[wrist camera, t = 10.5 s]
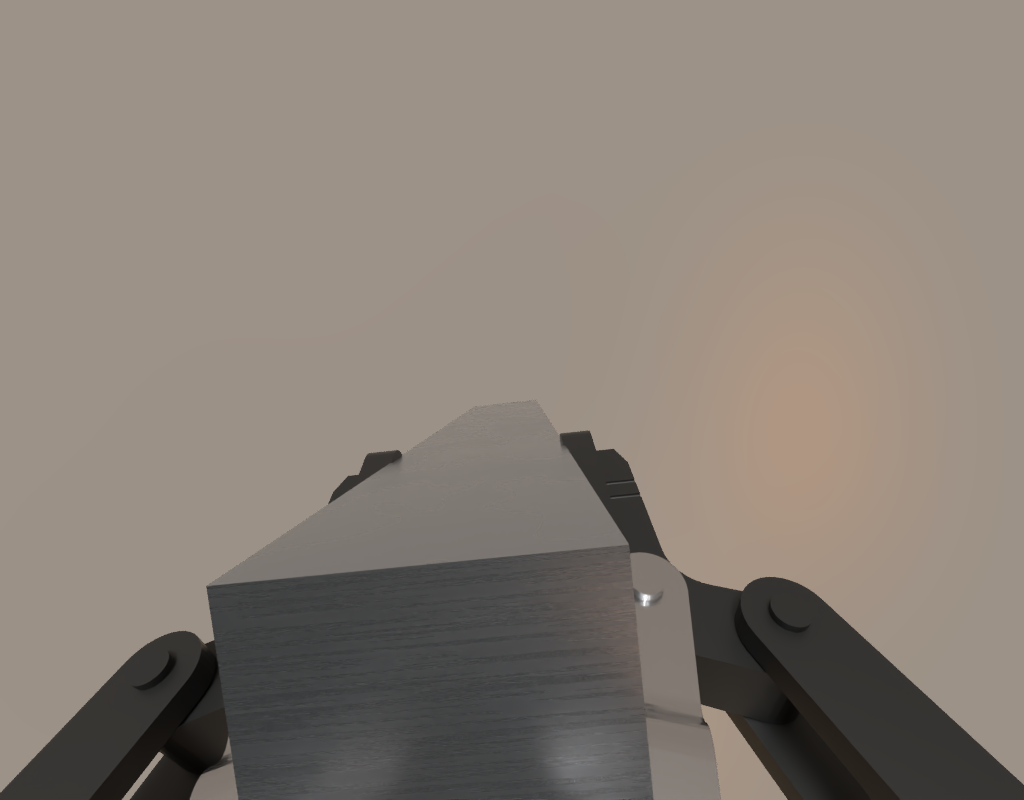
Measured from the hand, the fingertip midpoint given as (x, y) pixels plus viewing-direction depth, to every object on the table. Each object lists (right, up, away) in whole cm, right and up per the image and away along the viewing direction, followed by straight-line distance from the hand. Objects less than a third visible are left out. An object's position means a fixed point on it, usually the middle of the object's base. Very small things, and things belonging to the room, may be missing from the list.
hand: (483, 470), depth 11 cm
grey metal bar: (+1, -3, +5) cm, 6 cm away
